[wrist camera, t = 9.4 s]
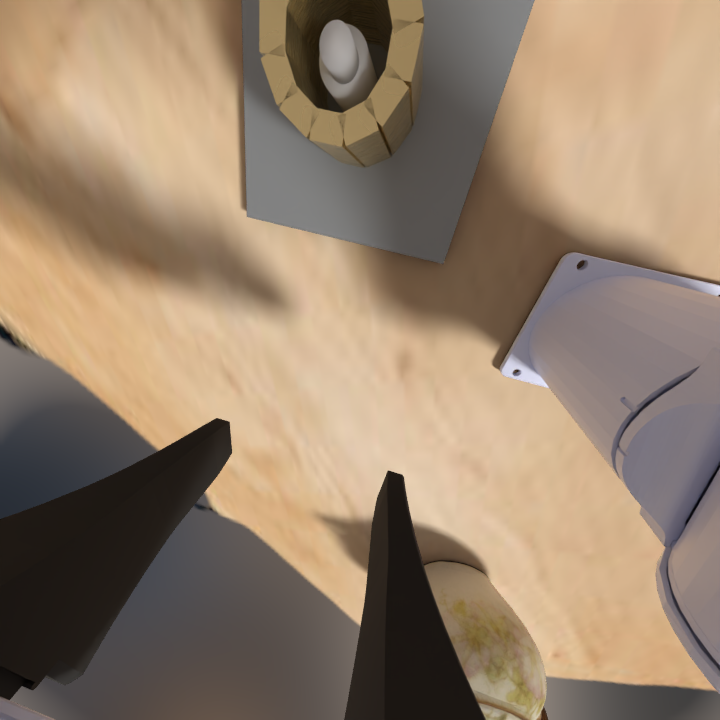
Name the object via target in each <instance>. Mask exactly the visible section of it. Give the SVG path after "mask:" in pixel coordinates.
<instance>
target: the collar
mask: <svg viewBox="0 0 720 720" xmlns="http://www.w3.org/2000/svg"><path fill="white" fill-rule="evenodd" d="M332 20H341V21H343V22H344V23H345V24H350V25H353V26H355V27H356V28H357V29H358V30H359V31H360V32H361V33H362V35H363V36H364V38H365V40H366V43H370V44H375V45H381V46H382V47H383V48H384V49H385V51H386V52H387V53H388V57H387V62H386V68H385V71H384V72H383V74H382V75H381V77H380V79H379V80H378V82H377V84H376V85H375V87H374V88H373V90H372V92H371V93H370V95H369V96H368V98H367V100H365V101H363V102H362V103H360V104H358V105H356V106H354V107H352V108H350V109H349V110H347V111H345V112H343V113H338V112H333V111H329V108H328V105H327V98H328V89H327V88H326V86H325V84H324V82H323V80H322V77H321V73H320V67H319V57H320V50H319V42H320V37H321V33H322V31H323V29H324V27H325V26H326V25H327V24H328V23H329V22H330V21H332ZM423 39H424V12H423V5H422V0H259V52H260V53H261V54H262V55H263V57H262V58H261V61H262V64H263V67H264V70H265V73H266V76H267V79H268V81H269V84H270V87H271V90H272V93H273V96H274V99H275V102H276V104H277V106H279V107H280V109H279V110H280V111H281V112H282V113H283V114H284V115H285V116H286V117H287V118H288V119H289V120H290V121H291V122H292V123H293V124H294V125H295V126H296V128H297V129H298V130H299V131H300V132H301V133H302V134H303V135H304V136H305V137H306V138H307V139H309V140H310V141H311V142H313V143H314V144H316V145H317V146H318V147H320V148H321V149H322V150H324V151H325V152H327V153H328V154H329V155H331V156H332V157H334V158H335V159H336V160H338V161H339V162H341V163H344V164H349V165H353V166H358V167H362V168H365V166H366V167H367V168H368V167H370V166H372V165H374V164H377V163H379V162H381V161H383V160H386V159H388V158H390V157H391V156H390V152H391V153H392V154H393V155H394V153H395V152H396V151H397V149H398V148H399V147H400V145H401V144H402V142H403V141H404V140H405V138H406V137H407V136H408V134H409V133H410V132H411V130H412V126H414V122H415V118H416V114H417V109H418V105H419V101H420V97H421V92H422V77H423ZM389 151H390V152H389Z"/></svg>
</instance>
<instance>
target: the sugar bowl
mask: <svg viewBox="0 0 720 720" xmlns="http://www.w3.org/2000/svg"><path fill="white" fill-rule="evenodd" d="M424 568H425V571H426V574H427V577H428V580H429V583H430V586H431V589H432V592H433V595H434V598H435V601H436V603H437V606H438V609H439V611H440V614H441V617H442V619H443V622H444V625H445V627H446V630H447V632H448V634H449V637H450V639H451V642H452V644H453V646H454V649H455V651H456V654H457V656H458V658H459V661H460V663H461V666H462V668H463V670H464V673H465V675H466V677H467V679H468V682H469V684H470V686H471V688H472V690H473V693H474V695H475V697H476V699H477V702H478V704H479V706H480V708H481V710H482V712H483V714H484V716H485V719H486V720H548V717H547V714H546V711H545V708H544V702H545V698H546V689H547V684H546V674H545V669H544V665H543V662H542V659H541V656H540V653H539V651H538V648H537V646H536V644H535V643H534V641H533V639H532V637H531V636H530V634H529V632H528V631H527V629H526V627H525V626H524V625H523V623H522V622H521V620H520V619H519V618H518V616H517V615H516V613H515V612H514V611H513V609H512V608H511V607H510V606H509V604H508V603H507V602H506V601H505V600H504V598H503V597H502V596H501V595H500V594H499V592H498V591H497V590H496V589H495V587H494V586H493V585H492V583H491V582H490V580H489V579H488V577H487V576H486V575H485V574H483V573H482V572H481V571H479V570H477V569H475V568H473V567H470V566H468V565H464V564H460V563H455V562H444V561H439V562H433V563H429V564H427V565H424Z"/></svg>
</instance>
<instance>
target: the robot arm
mask: <svg viewBox="0 0 720 720" xmlns="http://www.w3.org/2000/svg"><path fill="white" fill-rule="evenodd" d="M582 260H584V262H585V263H584V265H583V266H582V268H580V269H577V264H578V263H579V262H580V261H582ZM719 295H720V285H716V284H712V283H707V282H703V281H698V280H694V279H690V278H685V277H681V276H677V275H672V274H668V273H663V272H659V271H655V270H650V269H646V268H642V267H637V266H633V265H628V264H624V263H620V262H615V261H611V260H607V259H602V258H598V257H593V256H589V255H585V254H580V253H576V252H571V253H568V254H566V255H564V256H563V257H562V258H561V260H560V261H559V263H558V265H557V267H556V268H555V270H554V272H553V274H552V275H551V277H550V279H549V281H548V283H547V284H546V286H545V288H544V290H543V291H542V293H541V295H540V297H539V299H538V300H537V302H536V304H535V306H534V307H533V309H532V311H531V313H530V315H529V316H528V318H527V320H526V322H525V323H524V325H523V327H522V329H521V331H520V332H519V334H518V336H517V338H516V339H515V341H514V343H513V345H512V346H511V348H510V350H509V352H508V354H507V355H506V357H505V359H504V361H503V362H502V364H501V366H500V372H501V374H502V375H503V376H505V377H509V378H513V379H517V380H520V381H524V382H528V383H531V384H535V385H539V386H543V387H546V388H550V389H551V391H552V392H553V393H554V395H555V396H556V397H557V398H558V400H559V401H560V402H561V404H562V405H563V406H564V407H565V409H566V410H567V411H568V413H569V414H570V415H571V416H572V418H573V419H574V420H575V422H576V423H577V424H578V426H579V427H580V428H581V429H582V431H583V432H584V433H585V435H586V436H587V437H588V438H589V440H590V441H591V442H592V444H593V445H594V446H595V448H596V449H597V450H598V451H599V453H600V454H601V455H602V457H603V458H604V459H605V460H606V462H607V463H608V464H609V466H610V467H611V468H612V469H613V471H614V472H615V473H616V475H617V476H618V477H619V478H620V479H621V480H622V482H623V483H624V485H625V486H626V487H627V489H628V490H629V491H630V493H631V494H632V495H633V496H634V498H635V499H636V500H637V501H638V502H639V504H640V505H641V510H640V515H641V516H642V517H643V519H644V520H645V521H646V523H647V524H648V525H649V527H650V528H651V529H652V531H653V532H654V533H655V535H656V536H657V537H658V538H659V540H660V541H661V542H662V544H663V545H664V546H665V549H664V551H663V552H662V554H661V556H660V558H659V560H658V562H657V568H656V583H657V591H658V594H659V597H660V601H661V604H662V607H663V610H664V612H665V614H666V616H667V618H668V620H669V622H670V624H671V626H672V628H673V630H674V632H675V634H676V635H677V637H678V638H679V640H680V642H681V643H682V645H683V646H684V648H685V650H686V651H687V653H688V654H689V656H690V657H691V658H692V660H693V661H694V662H695V664H696V665H697V666H698V668H699V669H700V670H701V672H702V673H703V674H704V676H705V677H706V678H707V679H708V681H709V682H710V683H711V684H712V686H713V687H714V688H715V689H716V690H717V691H718V692H719V693H720V297H718V296H719ZM516 369H518V370H519V371H518V372H517V373H513V371H514V370H516ZM231 454H232V446H231V434H230V422H228V421H225V420H222V419H218V418H216V419H214V420H212V421H211V422H209V423H207V424H205V425H204V426H202V427H200V428H198V429H197V430H195V431H193V432H192V433H190V434H188V435H186V436H185V437H183V438H181V439H179V440H178V441H176V442H174V443H172V444H171V445H169V446H167V447H165V448H163V449H162V450H160V451H158V452H156V453H154V454H152V455H150V456H148V457H147V458H145V459H143V460H141V461H139V462H137V463H135V464H133V465H131V466H129V467H127V468H125V469H123V470H121V471H119V472H117V473H115V474H113V475H110V476H108V477H106V478H104V479H102V480H99V481H97V482H95V483H93V484H90V485H88V486H86V487H83V488H81V489H79V490H76V491H74V492H71V493H69V494H66V495H64V496H61V497H59V498H56V499H54V500H51V501H49V502H46V503H44V504H41V505H39V506H36V507H33V508H30V509H27V510H25V511H22V512H20V513H17V514H14V515H11V516H8V517H5V518H2V519H0V720H55V719H52V718H50V717H48V716H45V715H43V714H40V713H38V712H36V711H33V710H31V709H29V708H26V707H24V706H21V705H19V704H17V703H15V702H12V701H10V699H11V698H12V697H13V696H14V694H15V693H16V692H17V691H18V689H19V688H20V687H21V686H23V687H26V688H28V689H31V690H34V689H35V688H36V687H37V686H38V685H39V684H40V682H41V681H42V680H43V679H44V677H46V678H48V679H51V680H53V681H56V682H58V683H61V684H63V685H66V684H69V683H71V682H72V681H74V680H76V679H77V678H78V677H80V676H81V675H83V673H84V672H85V670H86V668H87V666H88V665H89V663H90V661H91V659H92V658H93V656H94V654H95V653H96V651H97V649H98V648H99V646H100V644H101V642H102V641H103V639H104V637H105V636H106V634H107V632H108V630H109V629H110V627H111V626H112V624H113V622H114V620H115V619H116V617H117V616H118V614H119V612H120V611H121V609H122V608H123V606H124V605H125V603H126V601H127V600H128V598H129V597H130V595H131V593H132V592H133V590H134V589H135V587H136V585H137V584H138V582H139V581H140V579H141V578H142V576H143V575H144V573H145V572H146V570H147V569H148V567H149V566H150V564H151V562H152V561H153V560H154V558H155V557H156V555H157V554H158V552H159V551H160V549H161V548H162V546H163V545H164V544H165V542H166V540H167V539H168V538H169V536H170V535H171V534H172V532H173V531H174V530H175V528H176V527H177V525H178V524H179V523H180V522H181V520H182V519H183V518H184V517H185V515H186V514H187V513H188V512H189V511H190V509H191V508H192V507H193V506H194V504H195V503H196V502H197V501H198V499H199V498H200V497H201V496H202V495H203V493H204V492H205V491H206V490H207V488H208V487H209V486H210V485H211V483H212V482H213V481H214V479H215V478H216V477H217V476H218V474H219V473H220V471H221V470H222V468H223V467H224V465H225V464H226V462H227V460H228V459H229V457H230V455H231ZM344 720H486V719H485V716H484V714H483V712H482V710H481V708H480V706H479V704H478V702H477V699H476V697H475V695H474V693H473V690H472V688H471V686H470V684H469V682H468V679H467V677H466V675H465V673H464V670H463V668H462V666H461V663H460V661H459V658H458V656H457V654H456V651H455V649H454V646H453V644H452V642H451V639H450V637H449V634H448V632H447V630H446V627H445V625H444V622H443V619H442V617H441V614H440V611H439V609H438V606H437V603H436V601H435V598H434V595H433V592H432V589H431V586H430V583H429V580H428V577H427V574H426V571H425V568H424V565H423V561H422V558H421V555H420V551H419V548H418V544H417V540H416V536H415V532H414V528H413V524H412V520H411V516H410V511H409V506H408V501H407V496H406V490H405V483H404V477H403V475H401V474H398V473H395V472H391V471H388V472H387V474H386V477H385V479H384V482H383V484H382V487H381V490H380V492H379V495H378V497H377V501H376V506H375V511H374V517H373V522H372V531H371V542H370V553H369V564H368V575H367V586H366V595H365V603H364V609H363V615H362V621H361V627H360V634H359V639H358V645H357V651H356V658H355V663H354V669H353V674H352V680H351V685H350V692H349V697H348V702H347V708H346V713H345V719H344Z"/></svg>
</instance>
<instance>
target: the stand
mask: <svg viewBox="0 0 720 720" xmlns="http://www.w3.org/2000/svg"><path fill="white" fill-rule="evenodd" d="M533 3H534V0H422V5H423V12H424V39H423V77H422V92H421V97H420V101H419V105H418V109H417V114H416V118H415V122H414V126H412V130H411V132H410V133H409V134H408V136H407V137H406V138H405V140H404V141H403V142H402V144H401V145H400V147H399V148H398V149H397V151H396V152H395V153H394V155H393V154H392V153H391V152H390V151H389V152H390V156H391V157H390V158H388V159H386V160H383V161H381V162H379V163H377V164H374V165H372V166H370V167H368V168H367V167H366V166H365V168H362V167H358V166H353V165H349V164H344V163H341V162H339V161H338V160H336V159H335V158H334V157H332V156H331V155H329V154H328V153H327V152H325V151H324V150H322V149H321V148H320V147H318V146H317V145H316V144H314V143H313V142H311V141H310V140H309V139H307V138H306V137H305V136H304V135H303V134H302V133H301V132H300V131H299V130H298V129H297V128H296V126H295V125H294V124H293V123H292V122H291V121H290V120H289V119H288V118H287V117H286V116H285V115H284V114H283V113H282V112H281V111H280V110H279V109H280V107H279V106H277V104H276V102H275V99H274V96H273V93H272V90H271V87H270V84H269V81H268V79H267V76H266V73H265V70H264V67H263V64H262V61H261V58H262V57H263V55H262V54H261V53H260V52H259V0H242V38H243V79H244V119H245V160H246V201H247V217H250V218H254V219H258V220H262V221H266V222H271V223H275V224H279V225H283V226H287V227H291V228H295V229H300V230H304V231H308V232H312V233H316V234H320V235H324V236H329V237H333V238H337V239H341V240H345V241H349V242H354V243H358V244H362V245H366V246H370V247H374V248H378V249H383V250H387V251H391V252H395V253H399V254H403V255H408V256H412V257H416V258H420V259H424V260H428V261H432V262H437V263H441V264H444V261H445V258H446V255H447V252H448V249H449V246H450V243H451V240H452V238H453V235H454V232H455V229H456V226H457V223H458V220H459V217H460V214H461V211H462V209H463V206H464V203H465V200H466V197H467V194H468V191H469V188H470V185H471V183H472V180H473V177H474V174H475V171H476V168H477V165H478V162H479V159H480V157H481V154H482V151H483V148H484V145H485V142H486V139H487V136H488V133H489V131H490V128H491V125H492V122H493V119H494V116H495V113H496V110H497V107H498V104H499V102H500V99H501V96H502V93H503V90H504V87H505V84H506V81H507V78H508V76H509V73H510V70H511V67H512V64H513V61H514V58H515V55H516V52H517V50H518V47H519V44H520V41H521V38H522V35H523V32H524V29H525V26H526V23H527V21H528V18H529V15H530V12H531V9H532V6H533ZM319 50H320V57H319V67H320V73H321V77H322V80H323V82H324V84H325V86H326V88H327V89H328V98H327V105H328V108H329V111H333V112H338V113H343V112H345V111H347V110H349V109H350V108H352V107H354V106H356V105H358V104H360V103H362V102H363V101H365V100H367V98H368V96H369V95H370V93H371V92H372V90H373V88H374V87H375V85H376V84H377V82H378V80H379V79H380V77H381V75H382V74H383V72H384V71H385V68H386V62H387V57H388V53H387V52H386V51H385V49H384V48H383V47H382V46H381V45H375V44H370V43H366V40H365V38H364V36H363V35H362V33H361V32H360V31H359V30H358V29H357V28H356V27H355V26H353V25H350V24H345V23H344V22H343V21H341V20H332V21H330V22H329V23H328V24H327V25H326V26H325V27H324V29H323V31H322V33H321V37H320V42H319Z"/></svg>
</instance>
